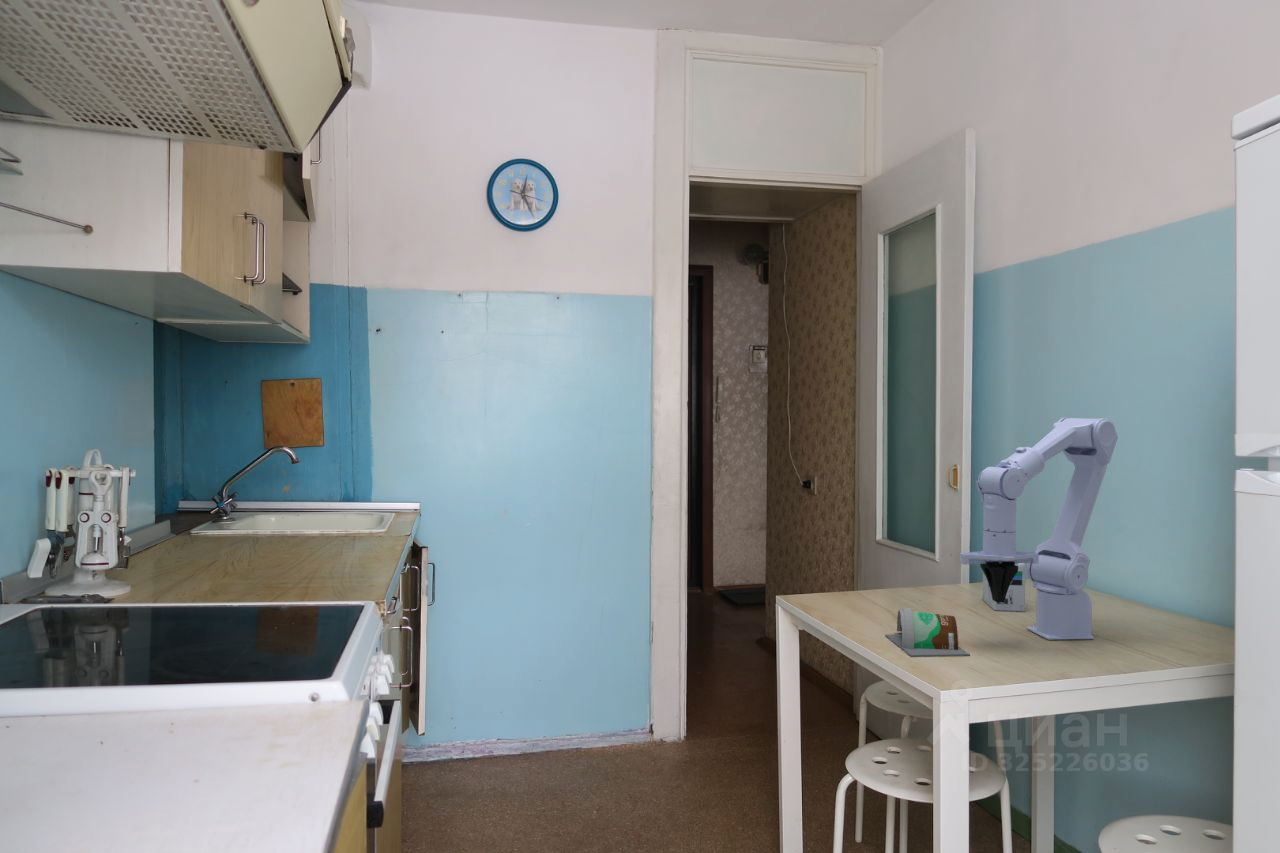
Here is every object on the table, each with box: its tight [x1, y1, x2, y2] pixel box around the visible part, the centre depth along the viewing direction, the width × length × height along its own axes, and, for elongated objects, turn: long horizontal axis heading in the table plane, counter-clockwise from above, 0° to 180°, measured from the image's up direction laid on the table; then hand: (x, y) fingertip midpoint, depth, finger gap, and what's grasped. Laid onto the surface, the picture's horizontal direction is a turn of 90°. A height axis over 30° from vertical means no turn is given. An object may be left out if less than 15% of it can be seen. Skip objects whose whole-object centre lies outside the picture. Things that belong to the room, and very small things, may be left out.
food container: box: [896, 607, 959, 650], centre depth 156 cm, size 12×6×10 cm
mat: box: [884, 633, 971, 658], centre depth 154 cm, size 11×13×1 cm
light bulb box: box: [982, 563, 1026, 613], centre depth 184 cm, size 11×7×11 cm, turn 171°
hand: (998, 601), depth 154 cm, fingers closed
